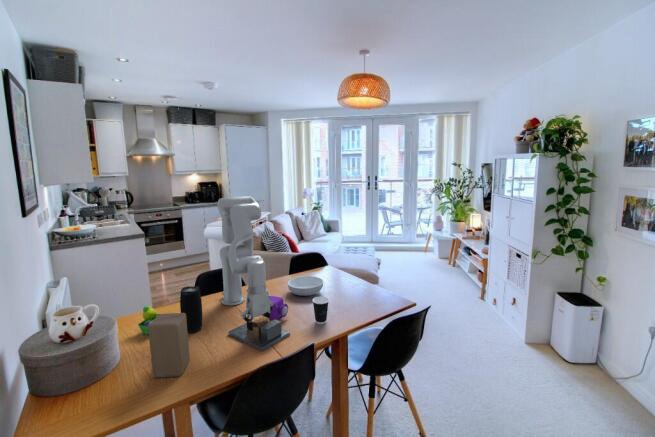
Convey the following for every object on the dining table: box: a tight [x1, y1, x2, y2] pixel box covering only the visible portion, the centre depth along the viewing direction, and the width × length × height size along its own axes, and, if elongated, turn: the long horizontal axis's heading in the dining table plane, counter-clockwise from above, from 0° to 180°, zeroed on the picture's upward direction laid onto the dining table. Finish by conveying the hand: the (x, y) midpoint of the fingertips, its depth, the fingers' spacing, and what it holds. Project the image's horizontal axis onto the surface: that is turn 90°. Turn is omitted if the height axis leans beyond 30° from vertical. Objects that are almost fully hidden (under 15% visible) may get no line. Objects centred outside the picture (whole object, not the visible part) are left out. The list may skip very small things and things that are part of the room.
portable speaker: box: [179, 285, 203, 334], centre depth 149 cm, size 9×9×20 cm
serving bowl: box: [287, 275, 324, 297], centre depth 193 cm, size 21×21×7 cm
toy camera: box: [262, 294, 289, 321], centre depth 161 cm, size 11×14×10 cm
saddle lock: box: [248, 315, 269, 337], centre depth 145 cm, size 7×6×6 cm
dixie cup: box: [312, 296, 330, 325], centre depth 156 cm, size 8×8×11 cm
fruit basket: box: [137, 305, 160, 335], centre depth 150 cm, size 11×9×11 cm
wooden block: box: [148, 312, 191, 378], centre depth 119 cm, size 10×10×20 cm
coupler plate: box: [228, 319, 291, 352], centre depth 145 cm, size 22×16×8 cm
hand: (258, 325), depth 145 cm, fingers open, 9 cm apart
